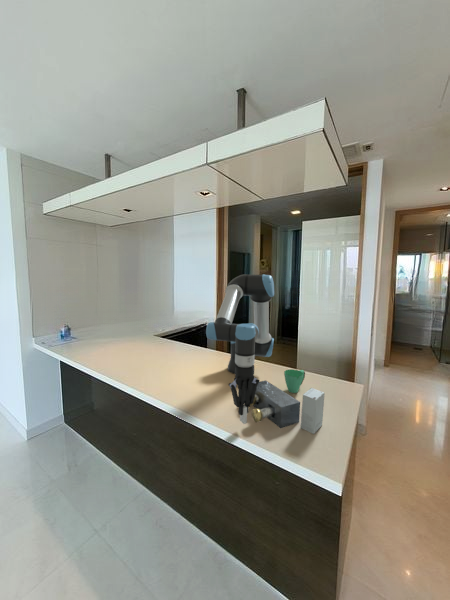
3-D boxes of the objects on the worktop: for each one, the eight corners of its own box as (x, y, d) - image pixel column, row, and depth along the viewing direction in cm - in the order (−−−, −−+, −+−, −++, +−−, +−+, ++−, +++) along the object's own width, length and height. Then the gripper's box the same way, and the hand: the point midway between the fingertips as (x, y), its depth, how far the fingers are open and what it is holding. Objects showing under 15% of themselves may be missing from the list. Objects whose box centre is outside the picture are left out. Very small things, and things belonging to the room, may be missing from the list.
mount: (248, 401, 126) (248, 384, 125) (265, 397, 131) (265, 380, 130) (280, 428, 105) (281, 407, 104) (299, 422, 110) (300, 401, 109)
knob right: (251, 418, 109) (251, 407, 108) (275, 411, 114) (275, 400, 114) (258, 424, 104) (258, 413, 104) (282, 417, 110) (283, 405, 109)
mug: (295, 397, 132) (296, 378, 131) (279, 390, 139) (280, 372, 138) (310, 388, 142) (311, 371, 140) (295, 382, 149) (295, 365, 148)
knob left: (246, 402, 121) (246, 392, 121) (268, 397, 127) (268, 387, 127) (252, 407, 117) (252, 397, 116) (274, 401, 123) (274, 391, 122)
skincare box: (309, 420, 111) (311, 387, 110) (323, 426, 107) (325, 391, 106) (300, 428, 105) (301, 393, 104) (314, 435, 101) (316, 398, 100)
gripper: (234, 370, 95) (233, 431, 97) (264, 364, 101) (262, 422, 103) (225, 363, 101) (224, 420, 104) (253, 358, 107) (251, 413, 110)
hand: (243, 421), depth 104 cm, fingers closed
